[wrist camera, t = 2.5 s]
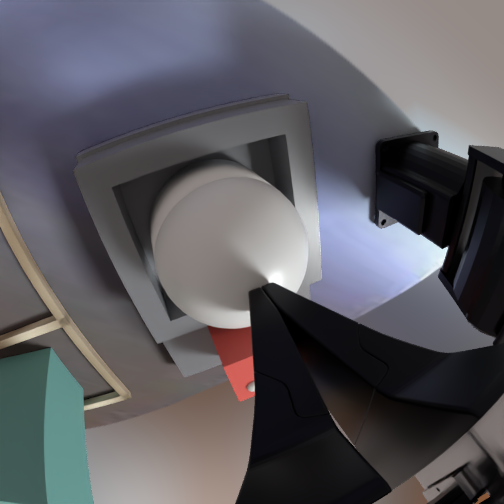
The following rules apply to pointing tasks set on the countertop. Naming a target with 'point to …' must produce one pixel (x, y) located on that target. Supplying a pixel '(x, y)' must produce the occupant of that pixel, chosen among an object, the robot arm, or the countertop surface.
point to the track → (54, 316)
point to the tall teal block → (42, 432)
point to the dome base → (162, 169)
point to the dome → (224, 240)
